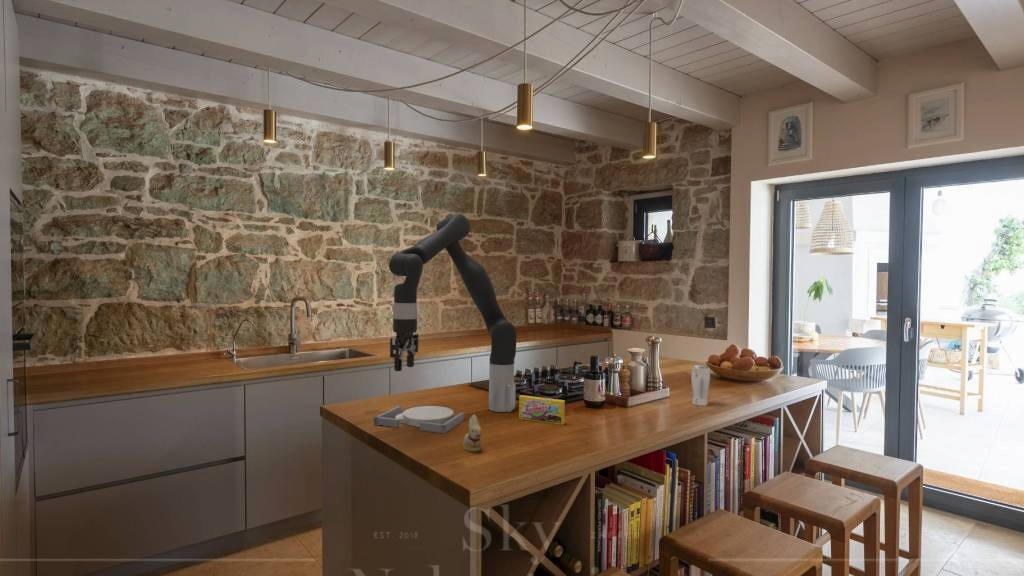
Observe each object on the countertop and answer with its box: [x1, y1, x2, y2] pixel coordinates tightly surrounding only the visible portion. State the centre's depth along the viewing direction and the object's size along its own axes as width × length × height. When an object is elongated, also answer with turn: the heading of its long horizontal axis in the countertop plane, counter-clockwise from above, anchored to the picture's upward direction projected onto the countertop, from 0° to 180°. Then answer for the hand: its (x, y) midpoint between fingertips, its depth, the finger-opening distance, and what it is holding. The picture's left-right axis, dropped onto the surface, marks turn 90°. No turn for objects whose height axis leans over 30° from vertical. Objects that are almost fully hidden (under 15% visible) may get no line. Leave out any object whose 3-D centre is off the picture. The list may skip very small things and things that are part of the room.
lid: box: [394, 405, 454, 428], centre depth 183 cm, size 17×20×3 cm
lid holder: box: [373, 405, 465, 434], centre depth 180 cm, size 25×16×2 cm, turn 72°
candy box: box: [518, 394, 566, 425], centre depth 184 cm, size 16×2×8 cm, turn 68°
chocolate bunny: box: [462, 414, 482, 453], centre depth 155 cm, size 6×8×10 cm
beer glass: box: [690, 364, 711, 407], centre depth 212 cm, size 7×7×15 cm
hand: (404, 368), depth 169 cm, fingers open, 7 cm apart
